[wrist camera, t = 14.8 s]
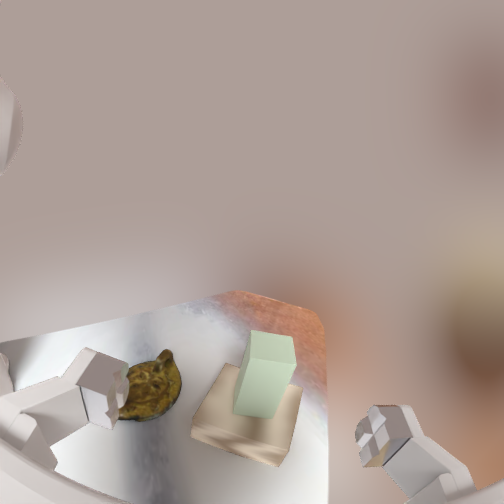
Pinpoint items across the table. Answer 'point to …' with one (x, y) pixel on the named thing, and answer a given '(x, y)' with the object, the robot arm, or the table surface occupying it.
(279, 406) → the plinth
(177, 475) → the table surface
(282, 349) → the green block
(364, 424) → the robot arm
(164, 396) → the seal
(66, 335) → the table surface
